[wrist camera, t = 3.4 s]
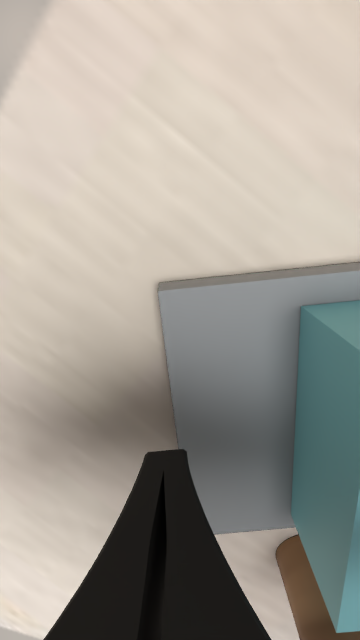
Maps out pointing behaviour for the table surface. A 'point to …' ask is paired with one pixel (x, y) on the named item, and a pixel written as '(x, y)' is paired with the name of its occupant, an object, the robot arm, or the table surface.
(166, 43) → the table surface
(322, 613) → the walnut dowel
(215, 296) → the slate board
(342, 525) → the teal block
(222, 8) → the table surface
